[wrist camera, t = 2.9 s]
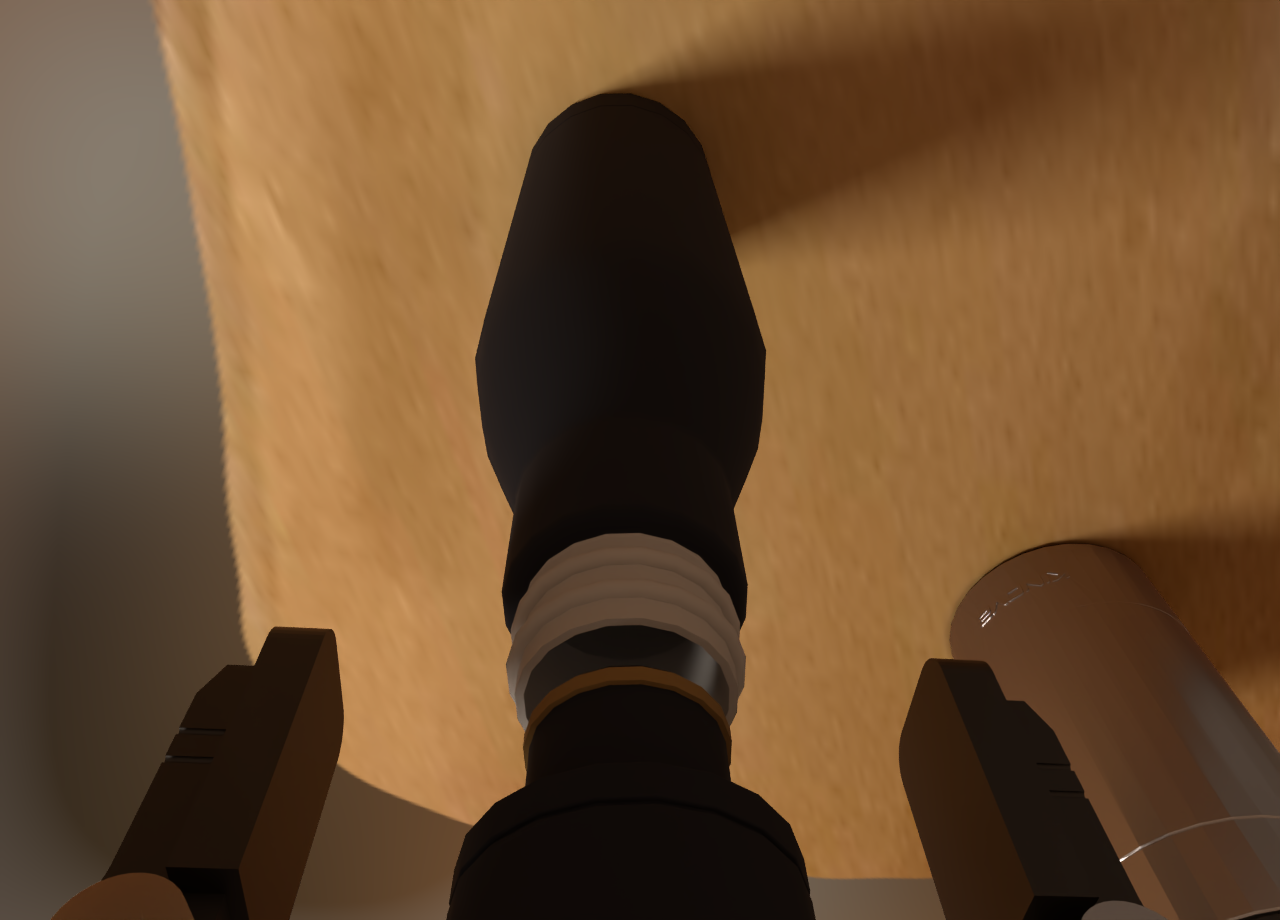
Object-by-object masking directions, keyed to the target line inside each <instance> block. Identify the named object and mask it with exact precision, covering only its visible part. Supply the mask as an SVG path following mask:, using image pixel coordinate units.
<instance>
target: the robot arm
mask: <svg viewBox="0 0 1280 920" xmlns="http://www.w3.org/2000/svg"><path fill="white" fill-rule="evenodd" d="M950 645H951V651H952V656H953V658H954V659H935V658H931V659H928V660H927V661H926V662H925V664H924V666H923V669H922V671H921V674H920V678H919V681H918V684H917V687H916V690H915V693H914V696H913V699H912V702H911V705H910V708H909V711H908V715H907V718H906V721H905V724H904V727H903V730H902V733H901V737H900V744H899V765H900V773H901V778H902V782H903V785H904V788H905V791H906V795H907V798H908V801H909V804H910V807H911V810H912V814H913V817H914V820H915V823H916V826H917V829H918V833H919V836H920V839H921V842H922V845H923V848H924V851H925V855H926V858H927V861H928V864H929V867H930V870H931V874H932V877H933V880H934V883H935V886H936V889H937V892H938V895H939V899H940V902H941V905H942V908H943V911H944V915H945V918H946V920H1280V753H1279V752H1278V751H1277V749H1276V748H1275V747H1274V745H1273V744H1272V743H1271V741H1270V740H1269V739H1268V737H1267V736H1266V735H1265V733H1264V732H1263V731H1262V729H1261V728H1260V727H1259V725H1258V724H1257V723H1256V721H1255V720H1254V719H1253V717H1252V716H1251V715H1250V713H1249V712H1248V711H1247V709H1246V708H1245V707H1244V705H1243V704H1242V703H1241V701H1240V700H1239V699H1238V697H1237V696H1236V695H1235V693H1234V692H1233V691H1232V689H1231V688H1230V687H1229V685H1228V684H1227V683H1226V681H1225V680H1224V679H1223V677H1222V676H1221V675H1220V673H1219V672H1218V671H1217V669H1216V668H1215V667H1214V665H1213V664H1212V663H1211V661H1210V660H1209V659H1208V657H1207V656H1206V655H1205V653H1204V652H1203V651H1202V649H1201V648H1200V647H1199V645H1198V644H1197V643H1196V641H1195V640H1194V639H1193V637H1192V636H1191V635H1190V633H1189V632H1188V630H1187V629H1186V628H1185V626H1184V625H1183V624H1182V622H1181V621H1180V620H1179V618H1178V617H1177V616H1176V614H1175V613H1174V612H1173V610H1172V609H1171V608H1170V606H1169V605H1168V604H1167V603H1166V601H1165V600H1164V599H1163V597H1162V596H1161V595H1160V593H1159V592H1158V591H1157V589H1156V588H1155V587H1154V585H1153V584H1152V583H1151V581H1150V580H1149V579H1148V577H1147V576H1146V575H1145V573H1144V572H1143V571H1142V569H1141V568H1140V567H1139V566H1138V565H1137V564H1136V563H1134V562H1133V561H1132V560H1130V559H1129V558H1128V557H1127V556H1125V555H1123V554H1121V553H1118V552H1116V551H1114V550H1112V549H1109V548H1105V547H1100V546H1095V545H1090V544H1062V545H1056V546H1049V547H1043V548H1040V549H1037V550H1034V551H1031V552H1028V553H1024V554H1021V555H1019V556H1017V557H1015V558H1013V559H1011V560H1009V561H1007V562H1005V563H1003V564H1001V565H1000V566H998V567H997V568H996V569H994V570H993V571H991V572H990V573H988V574H987V575H986V576H984V577H983V578H982V579H981V580H980V581H979V582H978V583H977V584H976V585H975V586H974V587H973V588H972V589H971V590H970V591H969V592H968V593H967V595H966V596H965V598H964V599H963V601H962V602H961V604H960V605H959V607H958V608H957V611H956V613H955V616H954V619H953V621H952V624H951V631H950ZM343 724H344V710H343V700H342V691H341V682H340V672H339V663H338V654H337V645H336V637H335V634H334V631H333V630H332V629H318V628H296V627H274V628H273V629H271V631H270V632H269V634H268V636H267V638H266V641H265V643H264V645H263V647H262V650H261V652H260V654H259V656H258V659H257V661H256V663H255V665H254V666H244V665H227V666H226V667H224V668H223V669H222V670H221V671H220V672H219V673H218V674H217V675H216V676H215V677H214V678H213V679H212V680H210V681H209V682H208V683H207V684H206V685H205V686H204V687H203V688H202V689H201V690H200V691H198V692H197V694H196V695H195V697H194V699H193V701H192V703H191V705H190V707H189V709H188V711H187V713H186V715H185V717H184V719H183V721H182V723H181V725H180V727H179V730H180V731H179V734H176V735H175V737H174V739H173V741H172V743H171V745H170V747H169V750H168V752H167V753H166V759H165V762H164V763H161V766H160V767H159V769H158V772H157V773H156V775H155V778H154V780H153V781H152V783H151V785H150V787H149V789H148V792H147V794H146V796H145V798H144V800H143V802H142V804H141V806H140V808H139V810H138V812H137V814H136V816H135V818H134V820H133V822H132V824H131V826H130V828H129V830H128V832H127V834H126V836H125V838H124V840H123V842H122V844H121V846H120V848H119V850H118V852H117V854H116V856H115V858H114V860H113V862H112V864H111V866H110V867H109V869H108V871H107V873H106V874H105V876H104V877H103V879H102V880H101V881H100V882H97V883H95V884H93V885H91V886H90V887H88V888H86V889H84V890H82V891H81V892H79V893H78V894H77V895H75V896H74V897H72V898H71V899H70V900H69V901H68V902H66V903H65V904H64V905H63V906H62V907H61V908H60V909H59V910H58V911H57V912H56V914H55V915H54V916H53V917H52V918H51V920H289V919H290V915H291V912H292V909H293V905H294V902H295V899H296V896H297V892H298V889H299V886H300V883H301V879H302V876H303V873H304V869H305V866H306V863H307V859H308V856H309V853H310V849H311V846H312V843H313V840H314V836H315V833H316V829H317V827H318V823H319V820H320V817H321V813H322V810H323V806H324V803H325V800H326V797H327V794H328V790H329V787H330V784H331V780H332V777H333V774H334V771H335V767H336V764H337V761H338V757H339V753H340V748H341V743H342V735H343Z"/></svg>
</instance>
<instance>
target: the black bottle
mask: <svg viewBox="0 0 1280 920" xmlns="http://www.w3.org/2000/svg"><path fill="white" fill-rule="evenodd" d="M765 360H766V349H765V346H764V343H763V339H762V336H761V333H760V329H759V326H758V323H757V319H756V316H755V313H754V309H753V306H752V303H751V300H750V297H749V294H748V291H747V287H746V284H745V281H744V278H743V275H742V272H741V268H740V265H739V262H738V259H737V256H736V253H735V249H734V246H733V243H732V240H731V237H730V234H729V231H728V227H727V224H726V221H725V218H724V215H723V212H722V208H721V205H720V202H719V199H718V196H717V193H716V189H715V186H714V183H713V180H712V177H711V174H710V170H709V167H708V164H707V161H706V158H705V155H704V152H703V148H702V145H701V144H700V142H699V141H698V139H697V138H696V137H695V135H694V134H693V132H692V131H691V130H690V128H689V127H688V125H687V124H686V122H685V121H684V120H683V119H681V118H680V117H679V116H677V115H676V114H674V113H673V112H672V111H670V110H669V109H668V108H666V107H665V106H664V105H662V104H661V103H659V102H656V101H653V100H650V99H646V98H643V97H640V96H637V95H634V94H600V95H597V96H594V97H591V98H589V99H586V100H583V101H581V102H578V103H575V104H572V105H571V106H570V107H568V108H567V109H566V110H565V111H563V112H562V113H561V114H560V115H559V116H557V117H556V118H555V119H554V120H552V121H551V122H550V123H549V124H548V125H547V127H546V128H545V130H544V132H543V133H542V135H541V136H540V138H539V139H538V141H537V143H536V144H535V146H534V147H533V149H532V153H531V156H530V160H529V163H528V167H527V170H526V174H525V177H524V181H523V184H522V188H521V192H520V195H519V199H518V202H517V206H516V209H515V213H514V216H513V220H512V223H511V227H510V230H509V234H508V238H507V241H506V245H505V248H504V252H503V255H502V259H501V262H500V266H499V269H498V273H497V276H496V280H495V284H494V287H493V291H492V294H491V298H490V301H489V305H488V308H487V312H486V315H485V319H484V323H483V328H482V332H481V336H480V340H479V344H478V349H477V353H476V357H475V361H476V373H477V386H478V394H479V403H480V411H481V420H482V427H483V433H484V438H485V444H486V449H487V454H488V458H489V460H490V462H491V465H492V467H493V469H494V472H495V474H496V476H497V479H498V481H499V483H500V486H501V488H502V490H503V492H504V494H505V497H506V499H507V501H508V503H509V505H510V507H511V509H512V512H513V514H514V515H513V521H512V528H511V534H510V541H509V547H508V554H507V560H506V567H505V574H504V580H503V587H502V598H503V606H504V615H505V623H506V626H507V628H508V630H509V632H510V634H511V637H512V647H511V650H510V653H509V656H508V659H507V663H506V668H507V676H508V684H509V692H510V695H511V697H512V699H513V700H514V702H515V704H516V709H517V717H518V720H519V722H520V724H521V725H522V727H523V729H524V730H525V734H524V744H523V751H524V759H525V768H526V771H527V774H526V785H525V787H523V788H521V789H519V790H518V791H516V792H514V793H512V794H510V795H509V796H507V797H505V798H503V799H501V800H499V801H498V802H496V803H495V804H494V805H493V806H492V807H491V808H490V809H489V810H488V811H487V812H486V813H485V814H484V816H483V817H482V818H481V819H480V820H479V821H478V822H477V823H476V824H475V825H474V826H473V828H472V829H471V830H470V831H469V832H468V833H467V834H466V836H465V839H464V842H463V845H462V848H461V851H460V854H459V857H458V860H457V863H456V866H455V869H454V875H453V881H452V888H451V894H450V900H449V905H450V907H449V911H448V913H447V919H446V920H816V919H815V914H814V909H813V903H812V900H811V898H810V888H809V883H808V877H807V872H806V867H805V862H804V858H803V855H802V853H801V851H800V848H799V846H798V843H797V841H796V838H795V836H794V833H793V831H792V828H791V826H790V824H789V823H788V822H787V821H786V820H785V819H784V818H783V817H782V816H781V815H779V814H778V813H777V812H776V811H775V810H774V809H773V808H772V807H771V806H770V805H769V804H768V803H767V802H766V801H765V800H764V799H763V798H762V797H761V796H760V795H758V794H756V793H754V792H752V791H750V790H748V789H746V788H743V787H741V786H739V785H737V784H735V783H733V782H731V778H730V770H729V766H730V764H731V746H732V740H731V732H730V725H731V723H732V721H733V719H734V717H735V715H736V713H737V701H738V698H739V696H740V694H741V692H742V690H743V688H744V680H745V662H746V656H745V654H744V651H743V648H742V646H741V643H740V641H739V635H740V629H741V627H742V625H743V623H744V621H745V618H746V605H747V586H748V584H747V579H746V573H745V568H744V563H743V557H742V552H741V547H740V541H739V536H738V531H737V525H736V520H735V515H734V507H735V504H736V502H737V500H738V497H739V495H740V493H741V490H742V488H743V485H744V483H745V481H746V478H747V475H748V473H749V470H750V468H751V465H752V463H753V460H754V457H755V455H756V452H757V450H758V444H759V437H760V431H761V424H762V415H763V398H764V380H765Z"/></svg>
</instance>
